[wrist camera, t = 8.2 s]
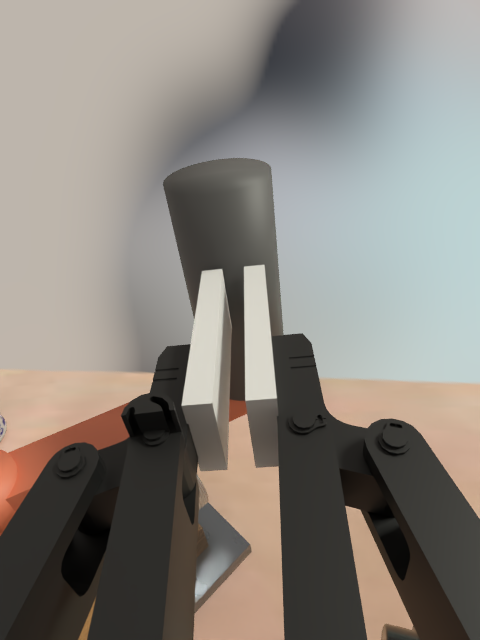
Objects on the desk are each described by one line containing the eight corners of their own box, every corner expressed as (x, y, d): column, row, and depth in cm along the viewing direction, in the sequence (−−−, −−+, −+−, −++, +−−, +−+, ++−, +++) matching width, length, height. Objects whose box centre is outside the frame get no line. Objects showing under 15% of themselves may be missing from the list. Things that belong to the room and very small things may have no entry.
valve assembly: (174, 473, 34) (130, 352, 26) (251, 551, 29) (224, 426, 21) (-100, 703, 24) (-304, 618, 16) (-64, 894, 18) (-353, 906, 11)
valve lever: (-60, 572, 16) (-336, 354, 9) (-51, 491, 19) (-254, 280, 13) (302, 400, 21) (292, 173, 14) (264, 356, 24) (241, 152, 17)
